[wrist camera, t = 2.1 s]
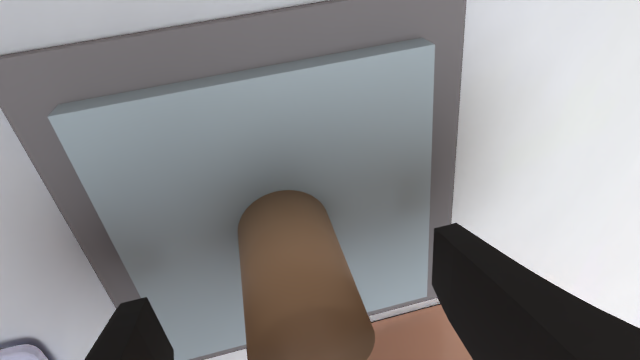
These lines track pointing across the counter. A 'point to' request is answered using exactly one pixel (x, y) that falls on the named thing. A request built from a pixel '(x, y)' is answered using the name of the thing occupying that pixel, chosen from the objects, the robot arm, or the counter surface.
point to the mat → (215, 59)
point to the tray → (417, 337)
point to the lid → (268, 198)
